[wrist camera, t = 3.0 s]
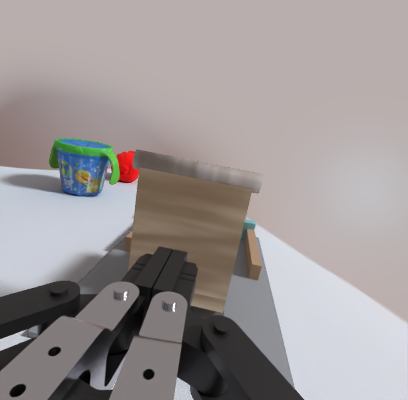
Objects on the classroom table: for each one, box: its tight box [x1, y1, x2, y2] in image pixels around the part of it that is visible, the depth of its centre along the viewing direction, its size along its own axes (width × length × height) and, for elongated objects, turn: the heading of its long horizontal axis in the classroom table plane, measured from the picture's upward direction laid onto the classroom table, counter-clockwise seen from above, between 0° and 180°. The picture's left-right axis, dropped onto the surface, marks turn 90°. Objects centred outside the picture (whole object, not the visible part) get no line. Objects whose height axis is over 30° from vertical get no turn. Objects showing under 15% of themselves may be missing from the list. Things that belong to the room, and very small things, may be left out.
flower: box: [111, 151, 139, 182], centre depth 67 cm, size 8×8×8 cm
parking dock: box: [28, 219, 295, 389], centre depth 31 cm, size 28×20×4 cm
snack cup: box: [49, 138, 120, 196], centre depth 52 cm, size 16×10×10 cm
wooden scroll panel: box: [128, 150, 263, 320], centre depth 24 cm, size 11×9×14 cm
